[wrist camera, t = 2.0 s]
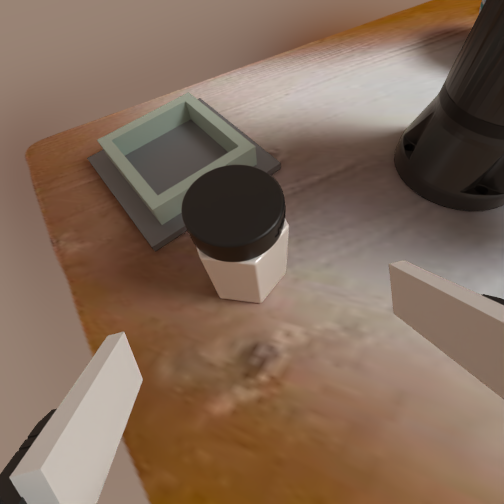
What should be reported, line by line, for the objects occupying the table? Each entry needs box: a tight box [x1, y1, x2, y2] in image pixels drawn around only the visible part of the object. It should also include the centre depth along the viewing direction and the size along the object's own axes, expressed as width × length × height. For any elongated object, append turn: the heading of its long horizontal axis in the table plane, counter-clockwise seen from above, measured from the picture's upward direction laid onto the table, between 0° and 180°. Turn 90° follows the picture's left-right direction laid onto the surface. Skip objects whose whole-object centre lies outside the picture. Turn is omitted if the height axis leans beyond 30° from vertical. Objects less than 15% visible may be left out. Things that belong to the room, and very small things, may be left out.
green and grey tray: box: [87, 92, 281, 251], centre depth 40 cm, size 20×20×4 cm
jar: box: [181, 165, 289, 303], centre depth 28 cm, size 9×8×12 cm
